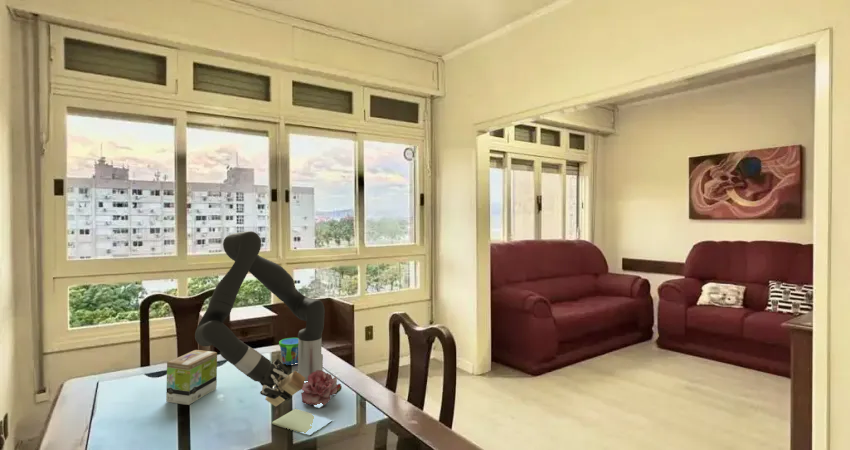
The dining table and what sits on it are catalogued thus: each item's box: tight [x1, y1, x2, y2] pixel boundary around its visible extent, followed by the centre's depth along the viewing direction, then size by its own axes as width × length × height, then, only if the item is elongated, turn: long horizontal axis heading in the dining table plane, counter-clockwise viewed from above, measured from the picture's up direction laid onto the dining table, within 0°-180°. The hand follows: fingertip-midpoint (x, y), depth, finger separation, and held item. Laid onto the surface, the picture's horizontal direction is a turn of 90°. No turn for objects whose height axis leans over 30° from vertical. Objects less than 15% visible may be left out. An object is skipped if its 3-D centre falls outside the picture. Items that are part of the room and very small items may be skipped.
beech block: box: [264, 370, 305, 407], centre depth 152 cm, size 5×5×13 cm
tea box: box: [165, 349, 218, 406], centre depth 169 cm, size 15×10×15 cm, turn 168°
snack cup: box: [278, 337, 298, 366], centre depth 204 cm, size 16×10×10 cm
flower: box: [300, 370, 343, 406], centre depth 168 cm, size 15×15×10 cm
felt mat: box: [271, 408, 314, 433], centre depth 151 cm, size 11×16×1 cm
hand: (292, 392), depth 153 cm, fingers closed on beech block, 4 cm apart
